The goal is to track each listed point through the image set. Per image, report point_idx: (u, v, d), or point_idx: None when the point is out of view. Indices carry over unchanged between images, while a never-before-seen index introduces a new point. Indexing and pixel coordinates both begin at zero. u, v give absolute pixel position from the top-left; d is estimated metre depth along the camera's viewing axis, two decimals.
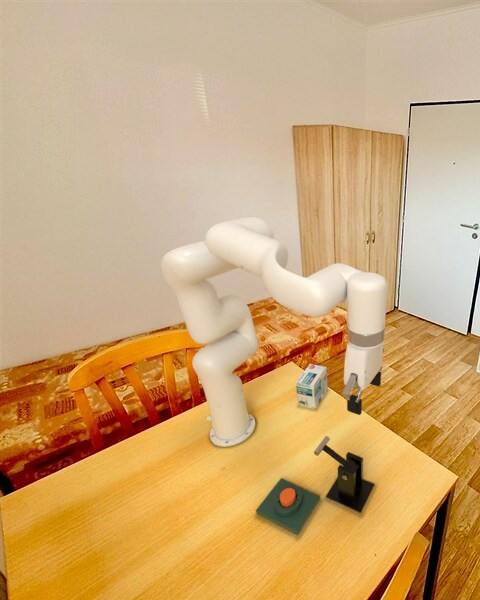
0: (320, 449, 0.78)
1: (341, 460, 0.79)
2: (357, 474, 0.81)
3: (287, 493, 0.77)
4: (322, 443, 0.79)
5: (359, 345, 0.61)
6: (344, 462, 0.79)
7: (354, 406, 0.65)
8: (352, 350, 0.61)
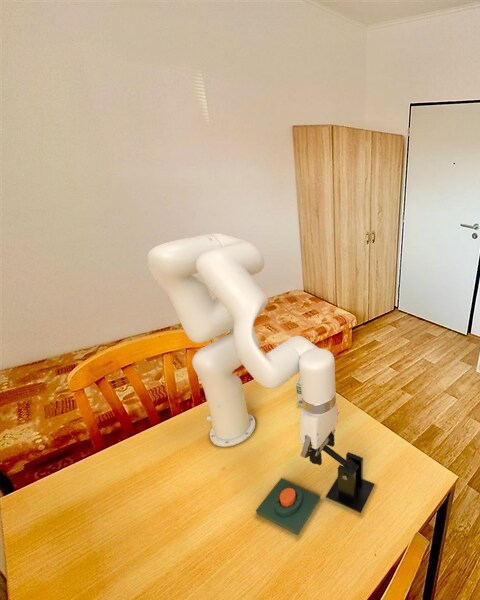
0: (320, 449, 0.78)
1: (341, 460, 0.79)
2: (357, 474, 0.81)
3: (287, 493, 0.77)
4: (322, 443, 0.79)
5: (311, 412, 0.70)
6: (344, 462, 0.79)
7: (314, 459, 0.76)
8: (305, 417, 0.70)
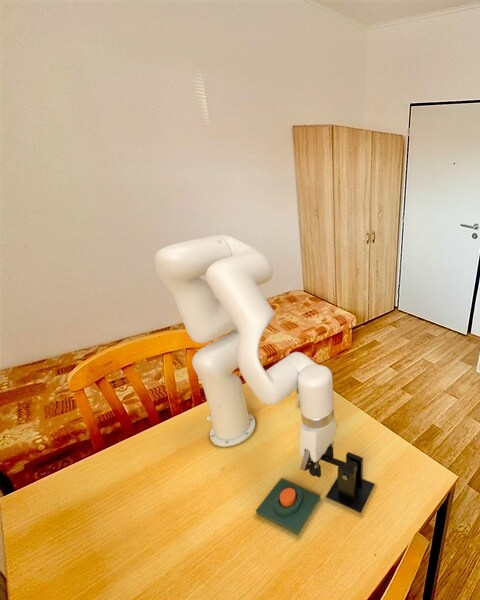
0: None
1: (339, 463, 0.79)
2: (357, 474, 0.81)
3: (287, 493, 0.77)
4: None
5: (310, 427, 0.72)
6: (343, 464, 0.79)
7: (314, 471, 0.78)
8: (304, 431, 0.72)
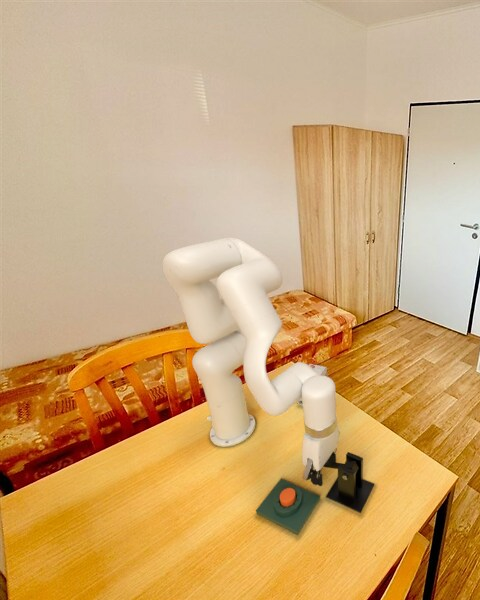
0: None
1: None
2: (357, 474, 0.81)
3: (287, 493, 0.77)
4: None
5: (313, 437, 0.73)
6: (343, 465, 0.79)
7: (315, 480, 0.79)
8: (307, 441, 0.73)
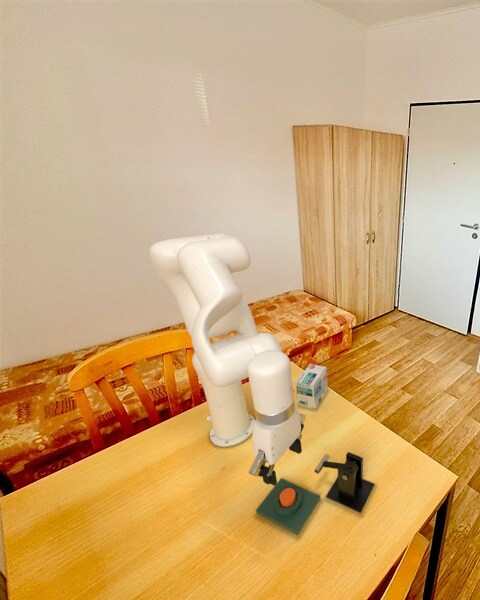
0: (319, 466, 0.81)
1: None
2: (357, 474, 0.81)
3: (287, 493, 0.77)
4: (321, 461, 0.83)
5: (264, 424, 0.61)
6: (343, 465, 0.79)
7: (267, 478, 0.66)
8: (257, 429, 0.61)
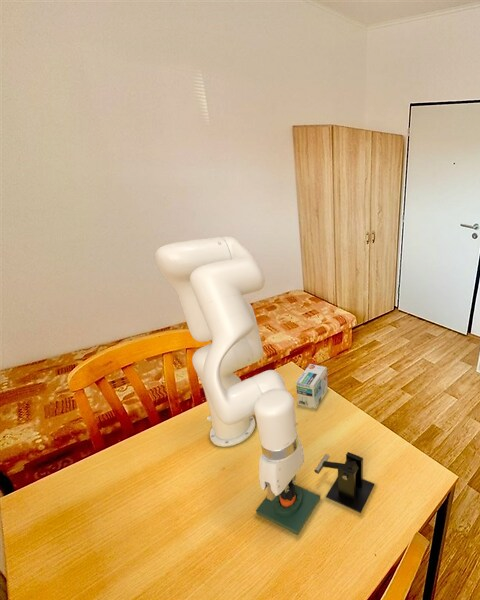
0: (319, 466, 0.81)
1: None
2: (357, 474, 0.81)
3: None
4: (321, 461, 0.83)
5: (269, 458, 0.65)
6: (343, 465, 0.79)
7: (284, 495, 0.74)
8: (263, 463, 0.65)
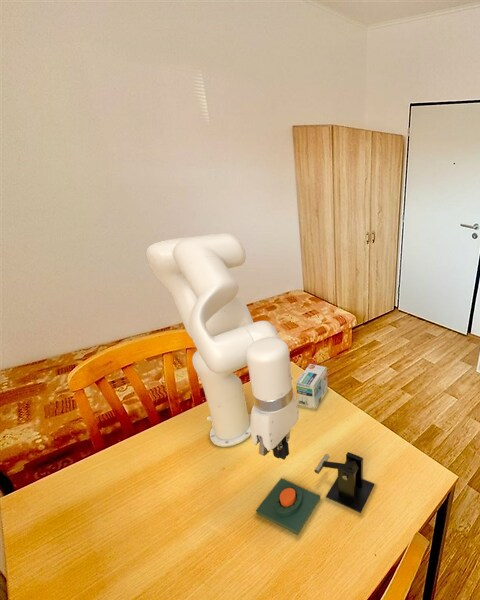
0: (319, 466, 0.81)
1: None
2: (357, 474, 0.81)
3: (287, 493, 0.77)
4: (321, 461, 0.83)
5: (262, 410, 0.62)
6: (343, 465, 0.79)
7: (277, 452, 0.70)
8: (255, 415, 0.62)
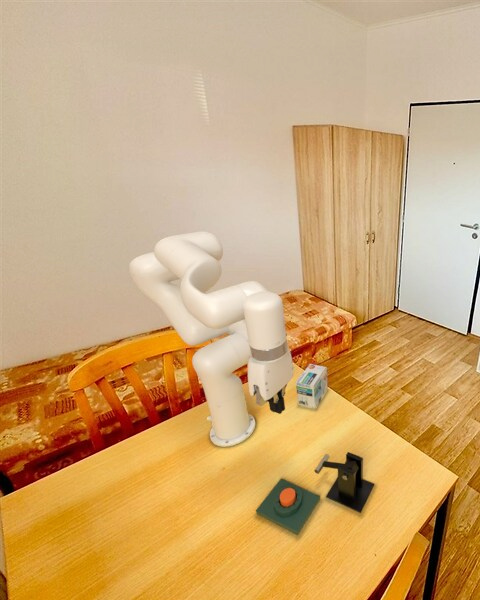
0: (319, 466, 0.81)
1: None
2: (357, 474, 0.81)
3: (287, 493, 0.77)
4: (321, 461, 0.83)
5: (258, 359, 0.66)
6: (343, 465, 0.79)
7: (274, 406, 0.74)
8: (252, 364, 0.66)
